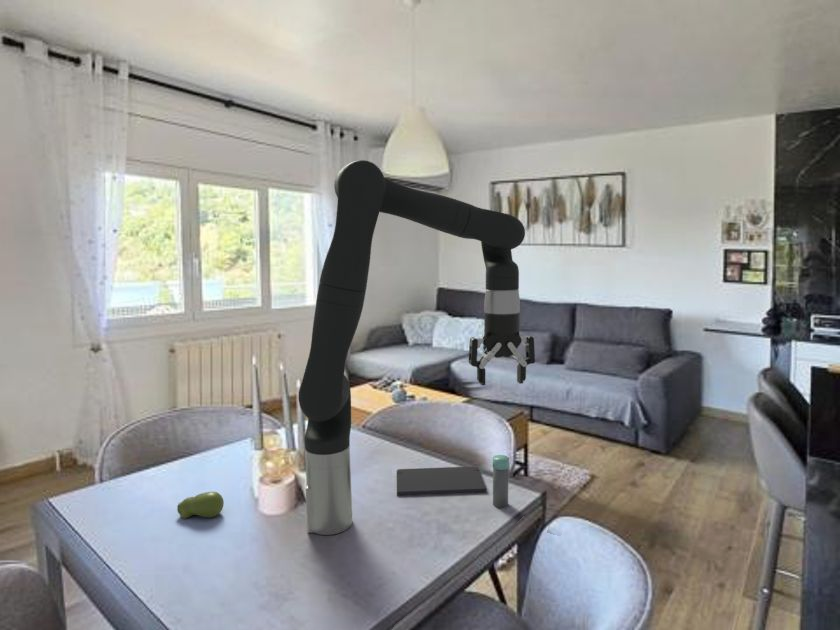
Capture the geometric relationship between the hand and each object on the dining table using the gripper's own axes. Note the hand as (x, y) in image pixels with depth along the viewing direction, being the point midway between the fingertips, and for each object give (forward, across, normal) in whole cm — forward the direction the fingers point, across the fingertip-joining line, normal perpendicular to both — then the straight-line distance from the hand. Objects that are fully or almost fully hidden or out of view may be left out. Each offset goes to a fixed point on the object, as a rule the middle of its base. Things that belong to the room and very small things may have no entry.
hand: (501, 383), depth 115 cm
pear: (+28, -66, +7) cm, 73 cm away
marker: (+28, 0, 0) cm, 28 cm away
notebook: (+29, -12, +13) cm, 34 cm away
